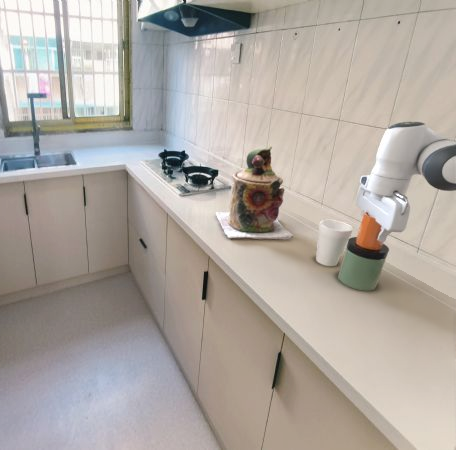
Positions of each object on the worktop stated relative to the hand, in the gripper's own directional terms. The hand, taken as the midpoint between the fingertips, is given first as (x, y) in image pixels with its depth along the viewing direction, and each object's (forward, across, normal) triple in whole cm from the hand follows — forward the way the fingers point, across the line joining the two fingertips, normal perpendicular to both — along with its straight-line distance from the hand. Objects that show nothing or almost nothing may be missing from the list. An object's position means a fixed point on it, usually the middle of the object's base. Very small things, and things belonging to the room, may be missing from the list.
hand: (371, 233), depth 94 cm
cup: (+4, 0, 0) cm, 4 cm away
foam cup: (+16, +11, +5) cm, 20 cm away
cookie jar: (+16, +35, +26) cm, 46 cm away
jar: (+16, 0, 0) cm, 16 cm away
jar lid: (+4, 0, 0) cm, 4 cm away
